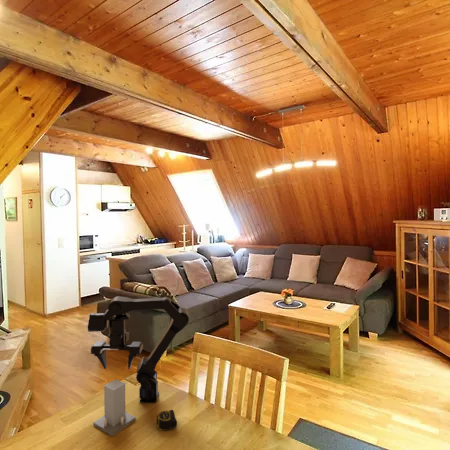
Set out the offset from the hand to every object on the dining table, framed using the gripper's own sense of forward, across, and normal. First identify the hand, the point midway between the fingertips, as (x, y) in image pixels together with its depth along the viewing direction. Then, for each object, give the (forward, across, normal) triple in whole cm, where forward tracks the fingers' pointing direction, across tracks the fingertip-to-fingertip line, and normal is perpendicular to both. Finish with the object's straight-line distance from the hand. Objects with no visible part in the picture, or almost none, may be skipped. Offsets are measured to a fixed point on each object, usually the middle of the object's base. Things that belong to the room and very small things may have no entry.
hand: (117, 368), depth 126 cm
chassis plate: (+13, -3, +12) cm, 18 cm away
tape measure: (+13, -22, +13) cm, 29 cm away
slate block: (+12, -3, +12) cm, 18 cm away
